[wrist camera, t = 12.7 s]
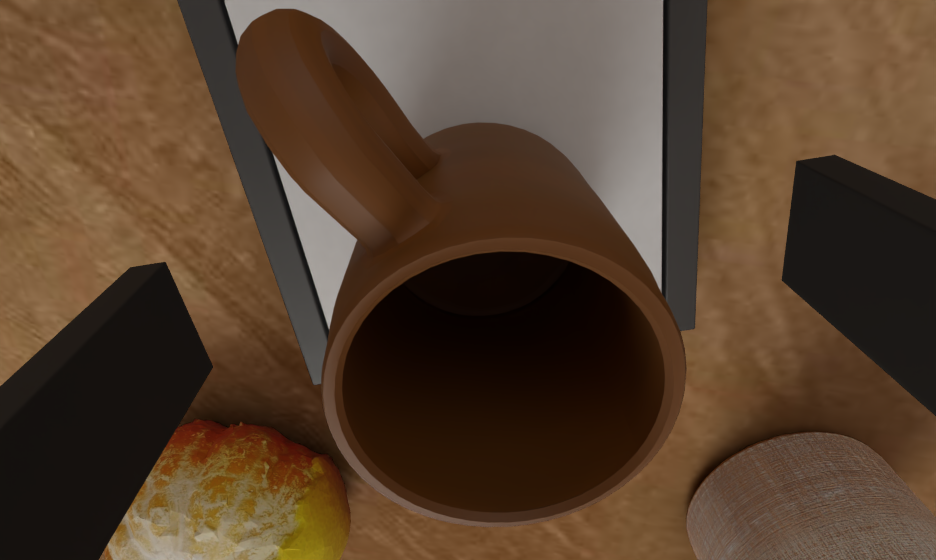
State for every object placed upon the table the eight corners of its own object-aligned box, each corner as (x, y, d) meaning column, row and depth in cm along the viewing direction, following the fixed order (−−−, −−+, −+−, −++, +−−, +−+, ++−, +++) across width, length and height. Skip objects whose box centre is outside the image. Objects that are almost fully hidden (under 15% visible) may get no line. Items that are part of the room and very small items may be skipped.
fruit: (297, 368, 26) (278, 549, 20) (378, 470, 33) (382, 625, 27) (72, 429, 26) (-7, 621, 21) (200, 516, 34) (167, 676, 28)
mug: (230, 80, 17) (24, 168, 9) (439, -78, 15) (432, -156, 7) (448, 353, 22) (450, 577, 14) (625, 255, 20) (751, 443, 12)
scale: (189, -52, 18) (146, -59, 16) (682, -142, 18) (724, -164, 15) (322, 350, 26) (308, 392, 23) (674, 297, 25) (701, 334, 22)
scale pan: (239, -3, 17) (222, -2, 16) (646, -75, 17) (664, -80, 16) (343, 335, 23) (336, 357, 22) (649, 289, 23) (662, 308, 21)
